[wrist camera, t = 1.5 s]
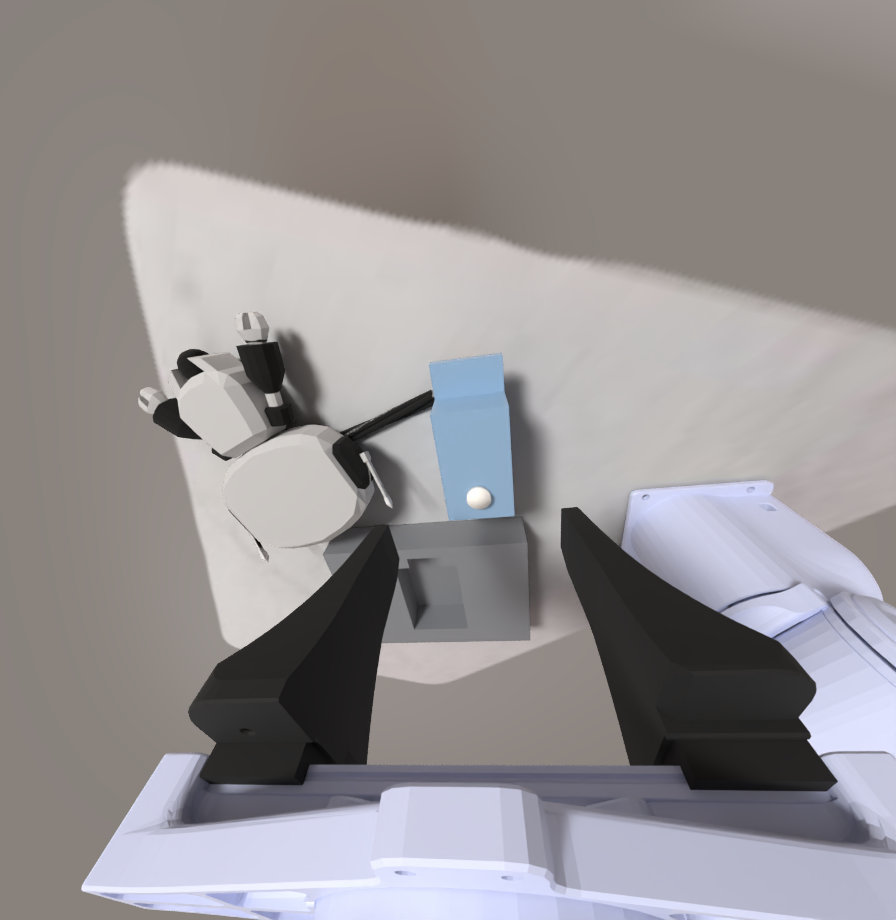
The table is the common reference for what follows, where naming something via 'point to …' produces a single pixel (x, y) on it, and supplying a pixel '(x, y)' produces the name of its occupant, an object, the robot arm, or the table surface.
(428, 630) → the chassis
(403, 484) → the table surface
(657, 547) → the robot arm
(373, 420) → the electrical cable
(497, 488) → the block
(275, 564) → the table surface
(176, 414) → the robot toy
